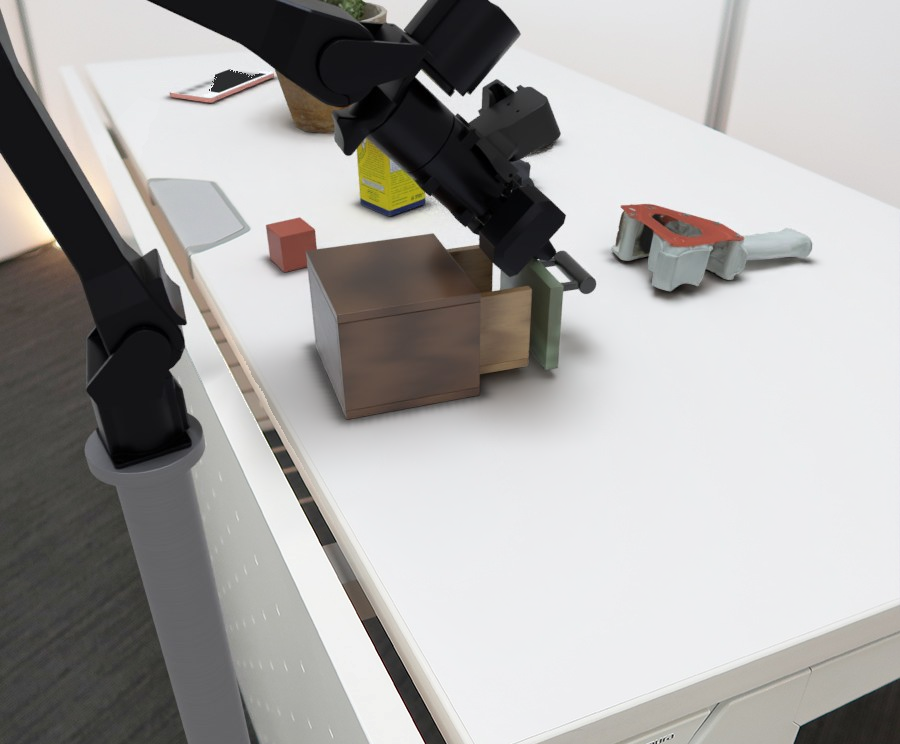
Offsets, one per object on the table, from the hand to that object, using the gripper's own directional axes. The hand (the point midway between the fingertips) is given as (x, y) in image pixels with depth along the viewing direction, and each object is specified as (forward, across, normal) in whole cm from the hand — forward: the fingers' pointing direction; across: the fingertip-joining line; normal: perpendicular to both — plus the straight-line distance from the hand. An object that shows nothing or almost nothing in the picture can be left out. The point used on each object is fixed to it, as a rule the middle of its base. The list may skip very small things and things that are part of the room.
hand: (551, 255), depth 80 cm
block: (-7, +26, +20) cm, 33 cm away
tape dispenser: (+22, +9, -9) cm, 25 cm away
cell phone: (-6, +100, +19) cm, 102 cm away
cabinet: (-4, 0, +16) cm, 17 cm away
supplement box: (+3, +38, +9) cm, 39 cm away
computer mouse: (+16, +44, -3) cm, 47 cm away
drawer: (+2, 0, +9) cm, 9 cm away
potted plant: (+3, +74, +10) cm, 75 cm away
